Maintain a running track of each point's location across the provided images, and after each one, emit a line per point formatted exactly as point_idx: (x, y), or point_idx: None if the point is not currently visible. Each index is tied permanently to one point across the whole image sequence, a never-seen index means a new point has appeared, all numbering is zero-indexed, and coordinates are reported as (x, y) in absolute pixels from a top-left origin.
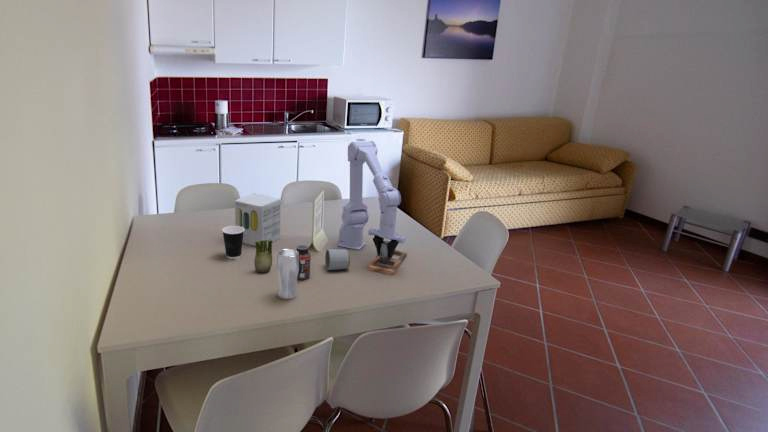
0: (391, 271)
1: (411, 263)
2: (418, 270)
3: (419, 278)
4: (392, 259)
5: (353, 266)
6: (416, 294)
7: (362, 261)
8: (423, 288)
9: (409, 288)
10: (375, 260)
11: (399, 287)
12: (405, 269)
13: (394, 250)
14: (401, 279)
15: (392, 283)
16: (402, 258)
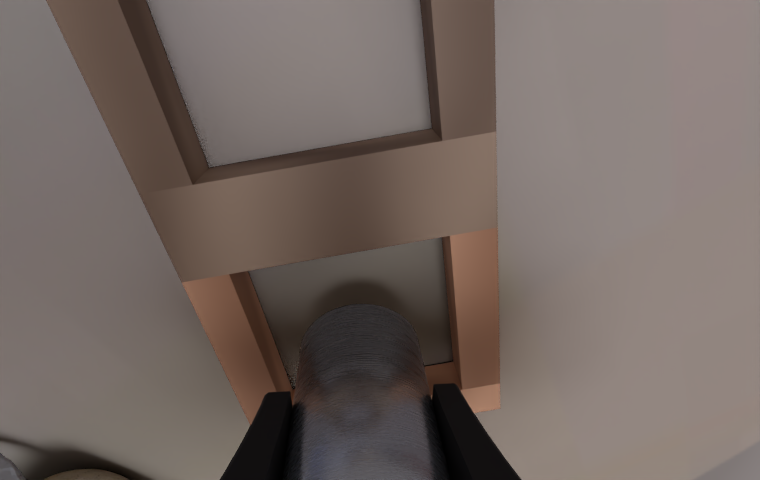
0: (484, 407)
1: (603, 22)
2: (703, 167)
3: (712, 308)
4: (383, 189)
5: (138, 429)
6: (692, 475)
7: (107, 321)
8: (739, 408)
9: (644, 450)
10: (237, 328)
11: (580, 470)
12: (563, 227)
13: (512, 472)
14: (570, 393)
15: (525, 459)
16: (492, 66)
